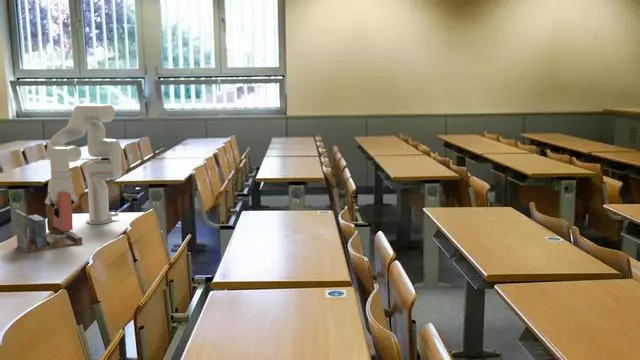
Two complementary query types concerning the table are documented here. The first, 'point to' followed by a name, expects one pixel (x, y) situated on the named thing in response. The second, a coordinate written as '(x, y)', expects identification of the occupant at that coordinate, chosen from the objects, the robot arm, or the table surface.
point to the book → (64, 212)
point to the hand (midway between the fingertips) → (62, 216)
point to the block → (52, 220)
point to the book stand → (40, 234)
